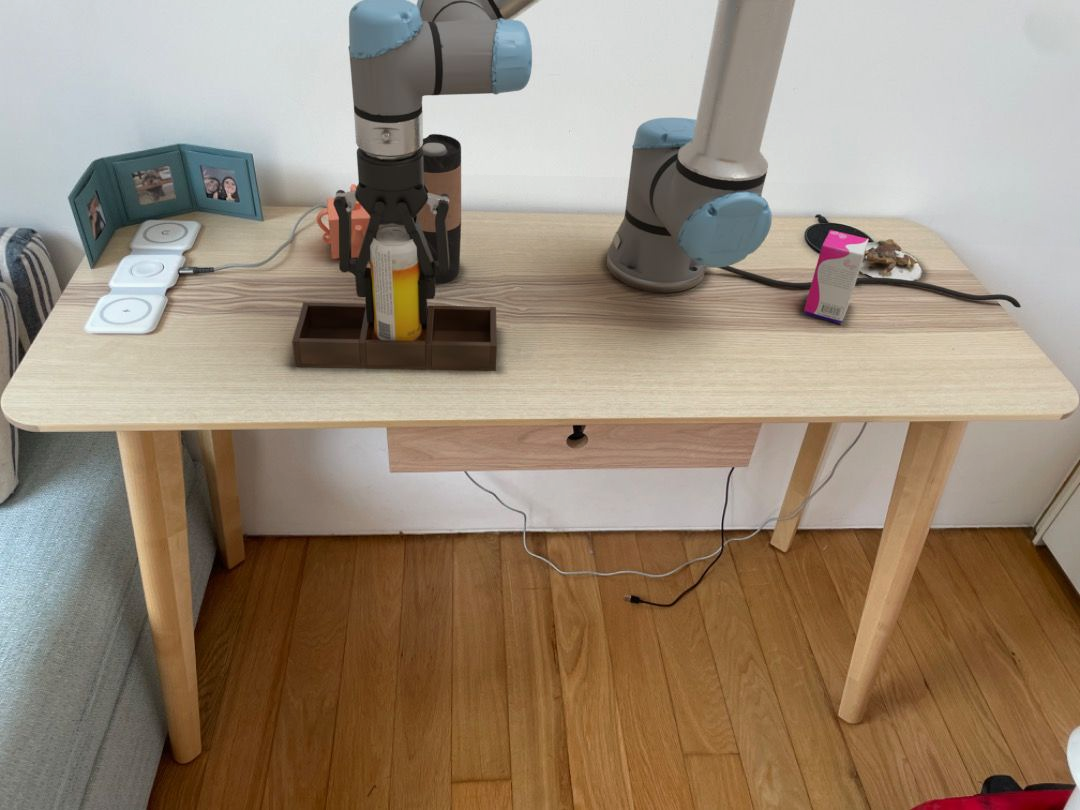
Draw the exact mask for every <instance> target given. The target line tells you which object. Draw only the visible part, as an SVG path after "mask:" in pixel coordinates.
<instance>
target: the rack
mask: <svg viewBox="0 0 1080 810" xmlns="http://www.w3.org/2000/svg"><path fill="white" fill-rule="evenodd" d="M295 326H296V327H295V330H294V334H293V337H292V341H291V344H292V351H293V358H294V366H295V368H332V369H333V368H336V369H338V368H339V369H384V370H386V369H387V370H388V369H389V370H432V371H433V370H437V371H439V370H442V371H485V372H486V371H491V372H492V371H495V372H496V371H497V352H498V351H497V349H498V338H497V335H498V333H497V332H498V331H497V306H477V305H476V306H471V305H469V306H468V305H431V304H430V305H428V304H427V319H426V324H421V329H422V331H421V334H420V335H419V337H417V339H416V340H415V341H402V340H380V339H379V338H378V337H377V336H376V334H375V329H374V320H373V323H371V322H367V314H366V303H357V302H356V303H355V302H353V303H352V302H348V303H347V302H313V301H312V302H307V301H306V302H305V301H303V302H302V306H301V309H300V312H299V315H298V320H297V323H296V325H295Z"/></svg>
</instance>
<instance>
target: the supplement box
mask: <svg viewBox="0 0 1080 810" xmlns="http://www.w3.org/2000/svg"><path fill="white" fill-rule="evenodd" d="M827 233H828V234H827V235H826V237H825V239H824V241H823V244H822V245H821V248H820V251H819V255H818V259H817V262H816V266H815V270H814V273H813V276H812V279H811V282H812V284H811V287H810V288H809V291H808V294H807V298H806V301H805V306H804V309H803V315H804V316H805V315H806V316H809V317H814V318H817V319H820V320H824V321H828V322H831V323H835V324H838V325H842V323H843V322H844V319H845V316H846V315H847V311H848V309H849V305H850V302H851V299H852V296H853V292H854V290H855V286H856V284H857V283H856V280H857V278H859V277H858V276H859V273H860V271H859V270H860V267H861V264H862V260H863V257H864V254H865V251H866V247H867V244H868V243H869V240H870V239H869V238H866V237H861V236H857V235H854V234H849V233H845V232H842V231H841V232H840V231H836V230H832V229H829V231H828V232H827Z"/></svg>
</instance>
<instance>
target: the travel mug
mask: <svg viewBox="0 0 1080 810" xmlns="http://www.w3.org/2000/svg"><path fill="white" fill-rule="evenodd" d="M421 148H422V150H423V168H424V184H425V186H426V188H427V190H428V193H432V194H435V195H438V196H440V195H441V194H444V193H445V194H448V195H449V209H448V213H447V216H446V223H447V236H448V248H449V260H450V262H449V273H448V274H447V275H442V274H440V275H438V276H436V277H435V285H436V284H444V283H449V282H451V281H453V280H455V279H456V278H457V277H458V276H459V274H460V261H461V238H462V144H461V143H460V141H459V140H458V139H456V138H455V137H452V136H449V135H447V134H446V135H445V134H440V133H430V134H429V135H428V136H426V137H423V145H422V146H421ZM417 215H418V218H419V223H420V226H421V228H422V231H423V234H424V236H425V239H426V241H427V244H428V247H429V249H430V252H431V255H432V257H433V260H434V262H435V261H438V252H437V240H436V229H435V216H436V215H434V214H433V213H431V211H430V206H429V205H428V204H427V203H426V204H425V205H424V206H423V208H422V209H421V210H420V211H419V213H418V214H417ZM420 269H422V267H421V265H420Z"/></svg>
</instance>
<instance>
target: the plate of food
mask: <svg viewBox="0 0 1080 810" xmlns="http://www.w3.org/2000/svg"><path fill="white" fill-rule="evenodd" d="M859 273H861V274H862V275H868V276H869V277H876V278H893V279H903V280H910V281H919V279H921V277H922V273H923V271H922V268H921V267H920V264H919V262H918V260H917V259H916V257H915V256H913V255H912V254H911V253H909V252H907V251H906V252H903V251H902V247H901V246H900V245H899V244H898V243H897V242H896V241H894V239H893V238H889V239H880V240H879V241H872V242H868V244H867V247H866V251H865V254H864V257H863V260H862V264H861V267H860V270H859Z"/></svg>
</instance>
